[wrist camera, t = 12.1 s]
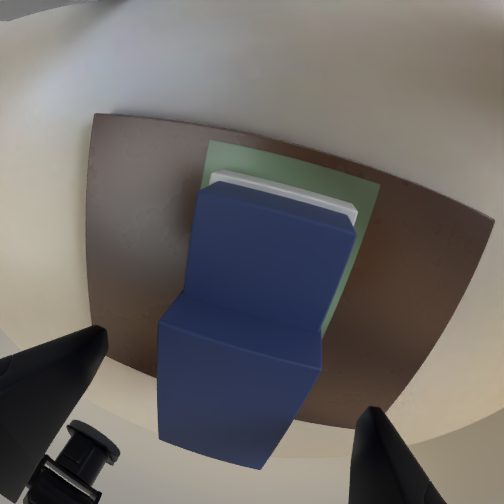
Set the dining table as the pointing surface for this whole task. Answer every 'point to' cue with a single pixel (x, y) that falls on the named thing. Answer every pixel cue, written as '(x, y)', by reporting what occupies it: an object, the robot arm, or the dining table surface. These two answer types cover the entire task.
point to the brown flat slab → (297, 175)
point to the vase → (30, 7)
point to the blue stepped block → (249, 315)
